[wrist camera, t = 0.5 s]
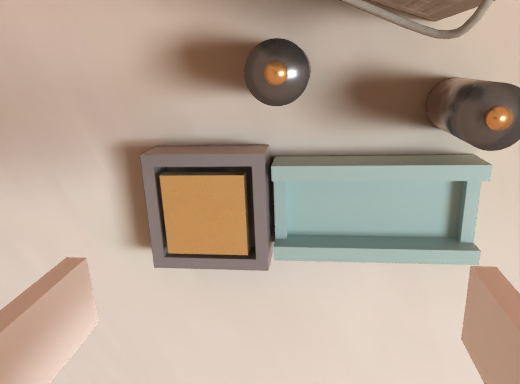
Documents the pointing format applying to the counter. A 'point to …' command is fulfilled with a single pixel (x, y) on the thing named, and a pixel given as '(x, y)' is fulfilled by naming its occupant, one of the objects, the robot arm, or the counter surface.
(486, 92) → the cell
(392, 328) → the counter surface
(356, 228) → the trough
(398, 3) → the geiger counter
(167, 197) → the orange square tile
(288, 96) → the cell
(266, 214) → the grey square tray
